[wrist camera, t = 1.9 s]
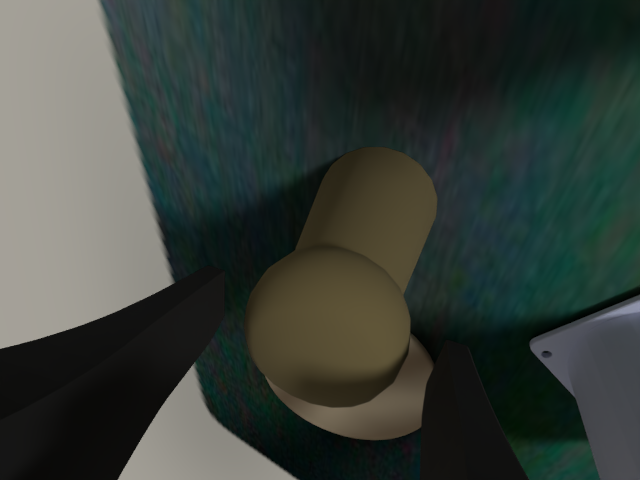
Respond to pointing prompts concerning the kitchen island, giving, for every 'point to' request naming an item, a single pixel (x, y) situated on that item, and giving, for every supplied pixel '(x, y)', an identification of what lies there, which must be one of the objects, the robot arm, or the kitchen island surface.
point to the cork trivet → (375, 404)
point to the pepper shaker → (345, 283)
